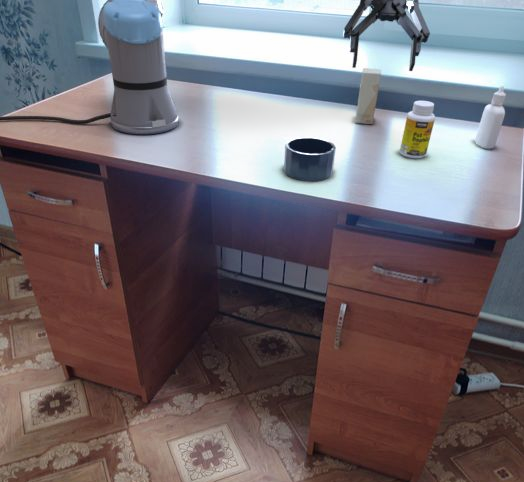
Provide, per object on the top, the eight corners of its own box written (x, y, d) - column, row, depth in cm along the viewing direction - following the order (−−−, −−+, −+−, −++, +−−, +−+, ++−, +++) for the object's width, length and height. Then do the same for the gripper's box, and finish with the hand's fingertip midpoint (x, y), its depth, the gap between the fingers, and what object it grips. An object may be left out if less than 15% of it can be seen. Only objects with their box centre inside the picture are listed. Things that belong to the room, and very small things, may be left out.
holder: (278, 177, 96) (280, 150, 93) (290, 159, 103) (292, 134, 100) (327, 184, 94) (330, 157, 91) (336, 166, 101) (339, 140, 98)
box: (372, 125, 121) (381, 74, 114) (354, 123, 122) (361, 72, 115) (373, 118, 125) (381, 68, 118) (356, 116, 126) (363, 67, 119)
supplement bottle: (406, 160, 105) (417, 107, 98) (395, 150, 109) (405, 99, 102) (430, 158, 106) (443, 106, 99) (418, 149, 110) (430, 98, 103)
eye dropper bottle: (494, 142, 114) (513, 84, 107) (493, 150, 111) (513, 91, 103) (474, 139, 116) (492, 82, 108) (472, 147, 112) (490, 88, 104)
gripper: (438, -4, 125) (431, 78, 123) (337, -9, 126) (329, 72, 125) (447, -29, 117) (440, 58, 116) (340, -34, 119) (332, 52, 118)
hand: (383, 66), depth 120 cm, fingers open, 13 cm apart
